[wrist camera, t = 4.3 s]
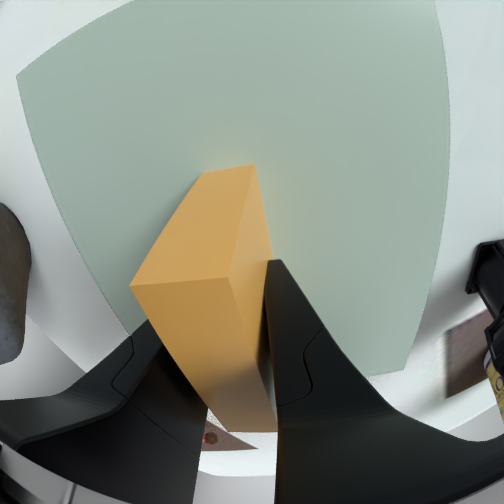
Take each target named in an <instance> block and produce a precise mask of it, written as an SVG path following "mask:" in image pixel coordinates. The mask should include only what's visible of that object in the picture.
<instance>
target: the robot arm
mask: <svg viewBox="0 0 504 504" xmlns="http://www.w3.org/2000/svg"><path fill="white" fill-rule="evenodd" d="M465 291H466V293H467V294H473V293H477V292H478V293H479V295H480V297H481V298H482V300H483V302H484V303H485V305H486V307H487V308H488V310H489V312H490V314H491V315H492V317H493V319H494V321H493V322H492V323H491V324H490V325H489V327H488V326H487V328H486V329H485V330H484V332H485V335H486V340H487V344H488V348H489V351H490V355H491V359H492V363H493V366H494V369H495V371H496V372H498V373H499V374H500V375H501V376H502V377H503V378H504V239H503V240H497V241H490V242H484V243H481V244H480V245H479V247H478V250H477V254H476V257H475V261H474V264H473V268H472V271H471V274H470V277H469V281H468V284H467V287H466V290H465ZM264 295H265V304H266V313H267V323H268V332H269V342H270V352H271V361H272V371H273V381H274V391H275V401H276V408H277V410H276V411H277V425H278V441H277V463H276V482H275V499H274V504H504V434H502V435H500V436H498V437H496V438H494V439H491V440H488V441H480V442H476V441H467V440H464V439H460V438H457V437H455V436H453V435H450V434H448V433H445V432H443V431H441V430H438V429H436V428H434V427H431V426H429V425H427V424H424V423H422V422H420V421H418V420H415V419H413V418H411V417H409V416H407V415H405V414H403V413H401V412H399V411H398V410H396V409H395V408H394V407H392V406H391V405H390V404H389V403H388V402H387V401H386V400H385V399H384V398H383V397H382V396H381V395H380V394H379V393H378V392H377V390H376V389H375V388H374V387H373V386H372V385H371V384H370V383H369V381H368V380H367V379H366V378H365V377H364V376H363V375H362V374H361V372H360V371H359V370H358V369H357V368H356V367H355V366H354V365H353V363H352V362H351V361H350V360H349V358H348V357H347V356H346V355H345V354H344V352H343V351H342V350H341V349H340V347H339V346H338V344H337V343H336V341H335V340H334V339H333V337H332V336H331V334H330V333H329V331H328V329H327V328H326V327H325V325H324V324H323V322H322V320H321V319H320V317H319V316H318V314H317V313H316V311H315V310H314V308H313V307H312V305H311V303H310V302H309V300H308V299H307V297H306V296H305V294H304V293H303V291H302V290H301V288H300V287H299V285H298V284H297V282H296V281H295V279H294V278H293V276H292V275H291V273H290V271H289V270H288V268H287V267H286V265H285V264H284V262H283V261H282V260H281V259H274V260H269V261H268V263H267V270H266V276H265V283H264ZM207 412H208V406H207V405H206V404H205V402H204V401H203V400H202V398H201V397H200V396H199V394H198V393H197V392H196V390H195V389H194V388H193V386H192V385H191V383H190V382H189V381H188V379H187V378H186V376H185V375H184V374H183V372H182V371H181V369H180V368H179V366H178V365H177V363H176V362H175V360H174V359H173V357H172V356H171V354H170V353H169V351H168V350H167V348H166V347H165V345H164V344H163V342H162V340H161V339H160V337H159V336H158V334H157V333H156V331H155V329H154V328H153V326H152V324H151V323H150V321H149V319H147V320H146V321H145V322H143V323H142V324H141V325H140V326H139V327H138V328H137V329H136V330H135V331H134V332H133V333H132V334H131V336H129V337H128V338H127V339H125V340H124V341H123V342H122V343H121V344H120V345H119V346H118V347H117V348H116V349H115V350H114V351H113V352H111V353H110V354H109V355H108V356H107V357H106V358H105V359H103V360H102V361H101V362H100V363H99V364H97V365H96V366H95V367H94V368H93V369H91V370H90V371H89V372H88V373H86V374H85V375H84V376H83V377H82V378H80V379H79V380H78V381H77V382H75V383H74V384H73V385H72V386H71V387H69V388H68V389H66V390H65V391H63V392H61V393H59V394H56V395H52V396H45V397H37V398H27V399H15V400H1V401H0V441H1V442H3V446H2V445H1V444H0V504H192V503H193V497H194V491H195V484H196V478H197V472H198V466H199V460H200V458H199V457H200V453H201V447H202V441H203V435H204V430H205V424H206V418H207Z"/></svg>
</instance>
